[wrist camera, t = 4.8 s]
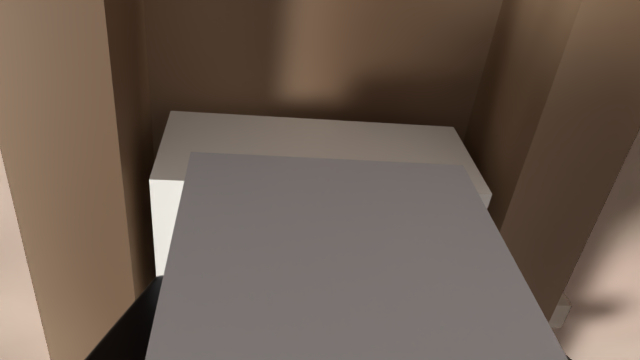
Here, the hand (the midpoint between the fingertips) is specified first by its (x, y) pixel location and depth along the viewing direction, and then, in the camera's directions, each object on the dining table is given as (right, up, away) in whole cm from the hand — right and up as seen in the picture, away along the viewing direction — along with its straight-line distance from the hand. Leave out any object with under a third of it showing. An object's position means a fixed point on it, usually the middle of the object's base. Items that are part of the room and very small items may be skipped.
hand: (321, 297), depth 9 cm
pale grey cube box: (+1, 0, +4) cm, 4 cm away
